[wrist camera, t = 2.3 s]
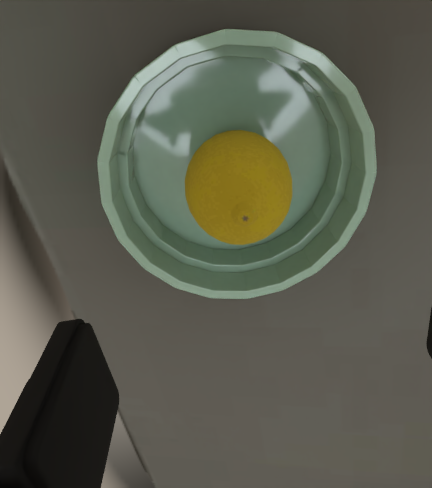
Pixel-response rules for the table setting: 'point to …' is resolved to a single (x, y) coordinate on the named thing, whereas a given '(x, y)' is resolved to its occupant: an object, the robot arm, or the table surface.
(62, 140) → the table surface
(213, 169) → the lemon
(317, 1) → the table surface
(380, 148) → the table surface
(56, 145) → the table surface
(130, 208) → the fruit bowl
